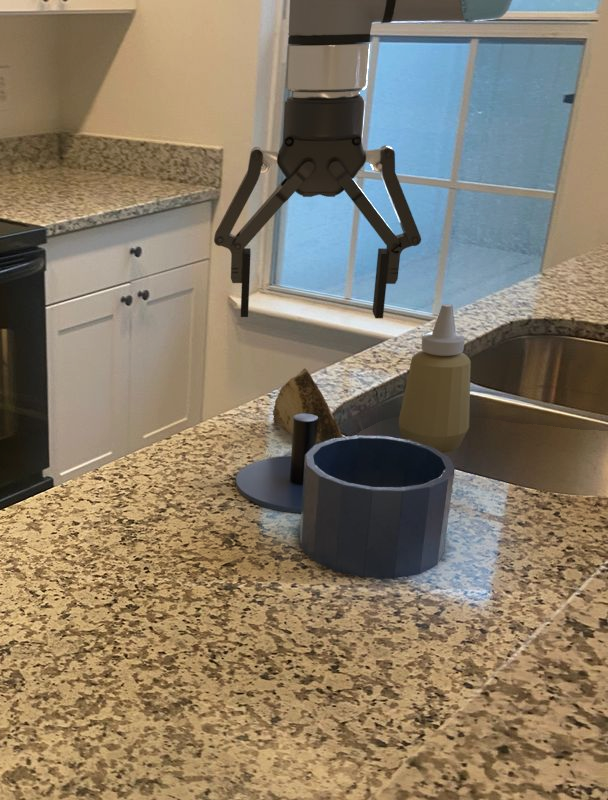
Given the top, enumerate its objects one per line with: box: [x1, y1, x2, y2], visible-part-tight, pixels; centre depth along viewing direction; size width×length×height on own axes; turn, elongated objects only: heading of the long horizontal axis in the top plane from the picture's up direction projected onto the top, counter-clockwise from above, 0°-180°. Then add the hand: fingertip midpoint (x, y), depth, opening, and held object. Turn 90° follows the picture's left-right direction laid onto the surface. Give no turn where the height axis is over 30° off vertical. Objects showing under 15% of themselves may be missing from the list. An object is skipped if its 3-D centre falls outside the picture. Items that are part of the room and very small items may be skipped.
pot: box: [299, 434, 456, 580], centre depth 100 cm, size 14×14×10 cm
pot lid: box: [235, 413, 318, 514], centre depth 113 cm, size 15×15×9 cm
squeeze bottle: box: [398, 303, 472, 454], centre depth 120 cm, size 8×8×18 cm
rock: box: [272, 367, 343, 444], centre depth 128 cm, size 11×9×10 cm
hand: (310, 314), depth 106 cm, fingers open, 13 cm apart
